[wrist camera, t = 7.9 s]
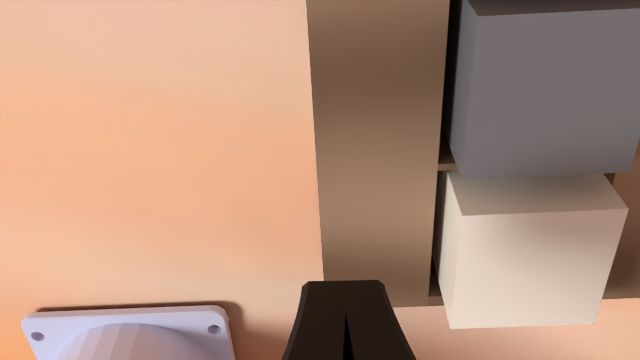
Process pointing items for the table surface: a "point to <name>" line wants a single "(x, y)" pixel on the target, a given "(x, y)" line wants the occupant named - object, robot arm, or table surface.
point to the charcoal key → (542, 87)
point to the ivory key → (524, 248)
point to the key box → (399, 147)
